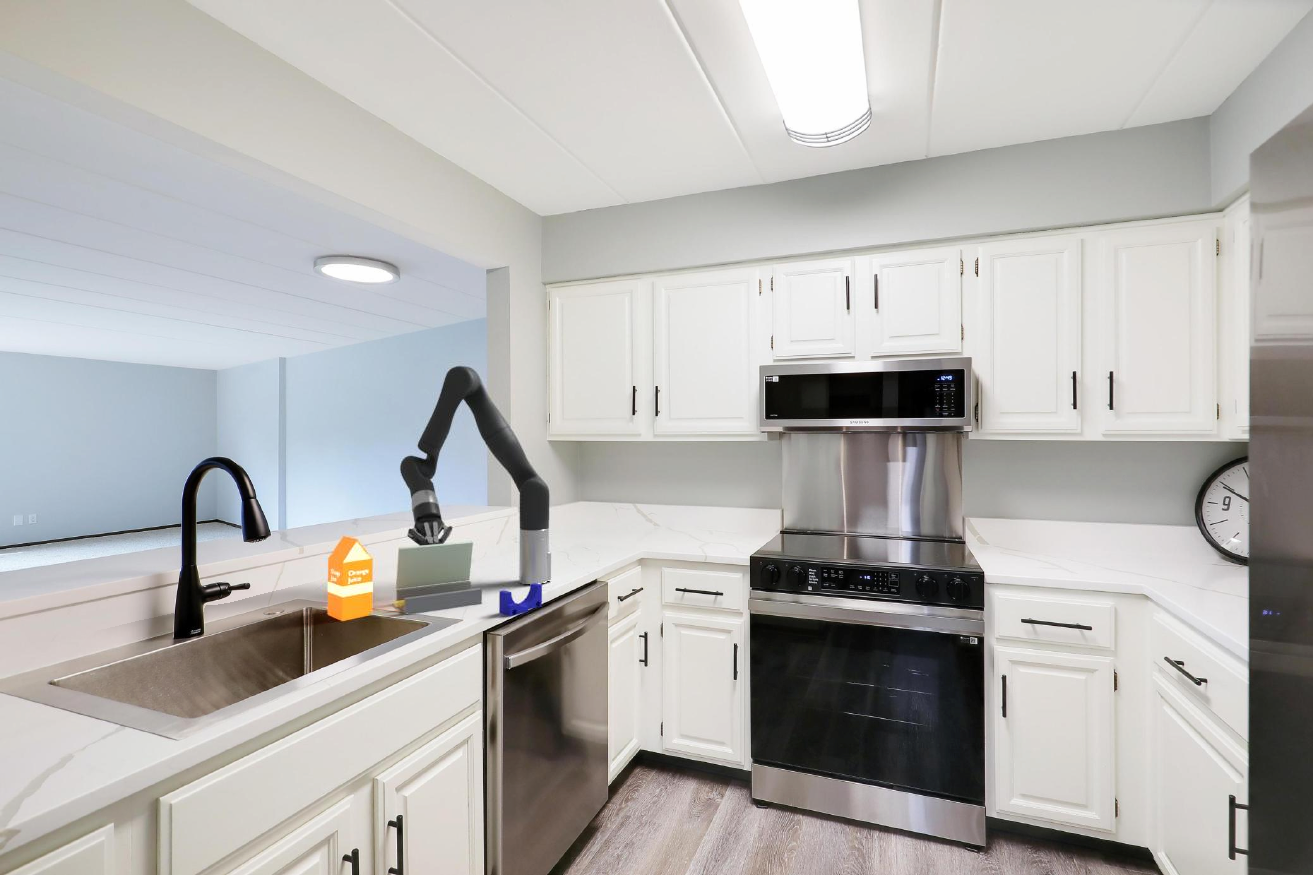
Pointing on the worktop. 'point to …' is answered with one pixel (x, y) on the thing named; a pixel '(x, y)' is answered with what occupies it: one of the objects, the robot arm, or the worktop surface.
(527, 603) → the blue u-shaped block
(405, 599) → the cable duct
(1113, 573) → the worktop surface
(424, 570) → the pale green flat panel
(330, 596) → the orange juice
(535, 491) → the robot arm
